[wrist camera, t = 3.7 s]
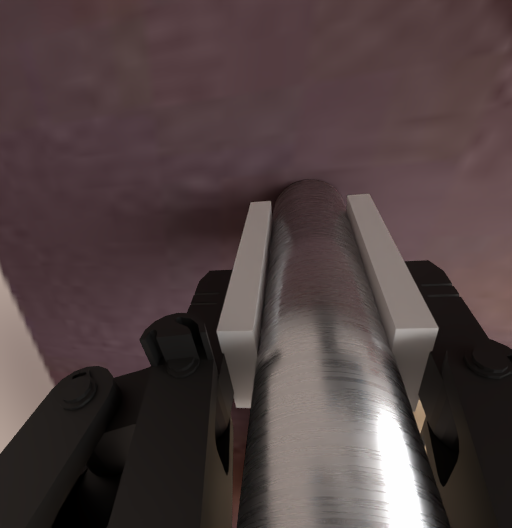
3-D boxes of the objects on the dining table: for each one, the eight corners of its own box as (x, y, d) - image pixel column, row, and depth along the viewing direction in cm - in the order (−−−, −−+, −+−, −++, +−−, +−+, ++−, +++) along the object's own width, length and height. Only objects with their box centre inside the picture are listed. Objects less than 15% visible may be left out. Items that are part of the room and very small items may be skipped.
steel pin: (270, 182, 13) (196, 633, 3) (346, 176, 12) (554, 678, 3) (276, 246, 15) (241, 672, 5) (343, 242, 14) (464, 703, 4)
